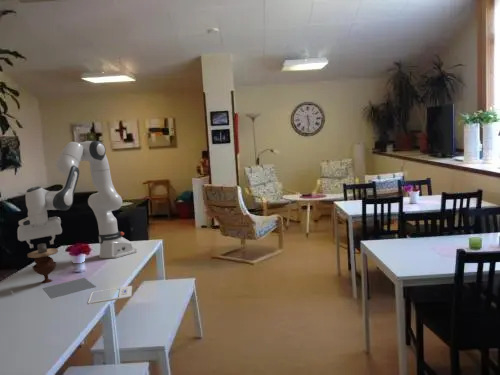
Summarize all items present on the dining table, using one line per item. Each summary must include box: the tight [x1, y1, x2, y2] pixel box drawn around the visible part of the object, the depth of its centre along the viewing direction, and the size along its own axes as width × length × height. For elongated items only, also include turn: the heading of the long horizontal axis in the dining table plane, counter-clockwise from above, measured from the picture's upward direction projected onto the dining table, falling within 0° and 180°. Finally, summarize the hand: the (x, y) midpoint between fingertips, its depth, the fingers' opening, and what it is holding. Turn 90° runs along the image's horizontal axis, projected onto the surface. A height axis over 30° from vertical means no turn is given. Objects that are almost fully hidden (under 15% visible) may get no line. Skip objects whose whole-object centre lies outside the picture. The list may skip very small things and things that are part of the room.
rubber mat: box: [42, 277, 97, 299], centre depth 210 cm, size 20×20×1 cm
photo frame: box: [87, 285, 133, 305], centre depth 196 cm, size 15×1×18 cm
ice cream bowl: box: [32, 256, 57, 284], centre depth 222 cm, size 11×11×15 cm
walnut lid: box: [26, 243, 59, 259], centre depth 221 cm, size 14×14×5 cm
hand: (42, 246), depth 221 cm, fingers open, 8 cm apart
